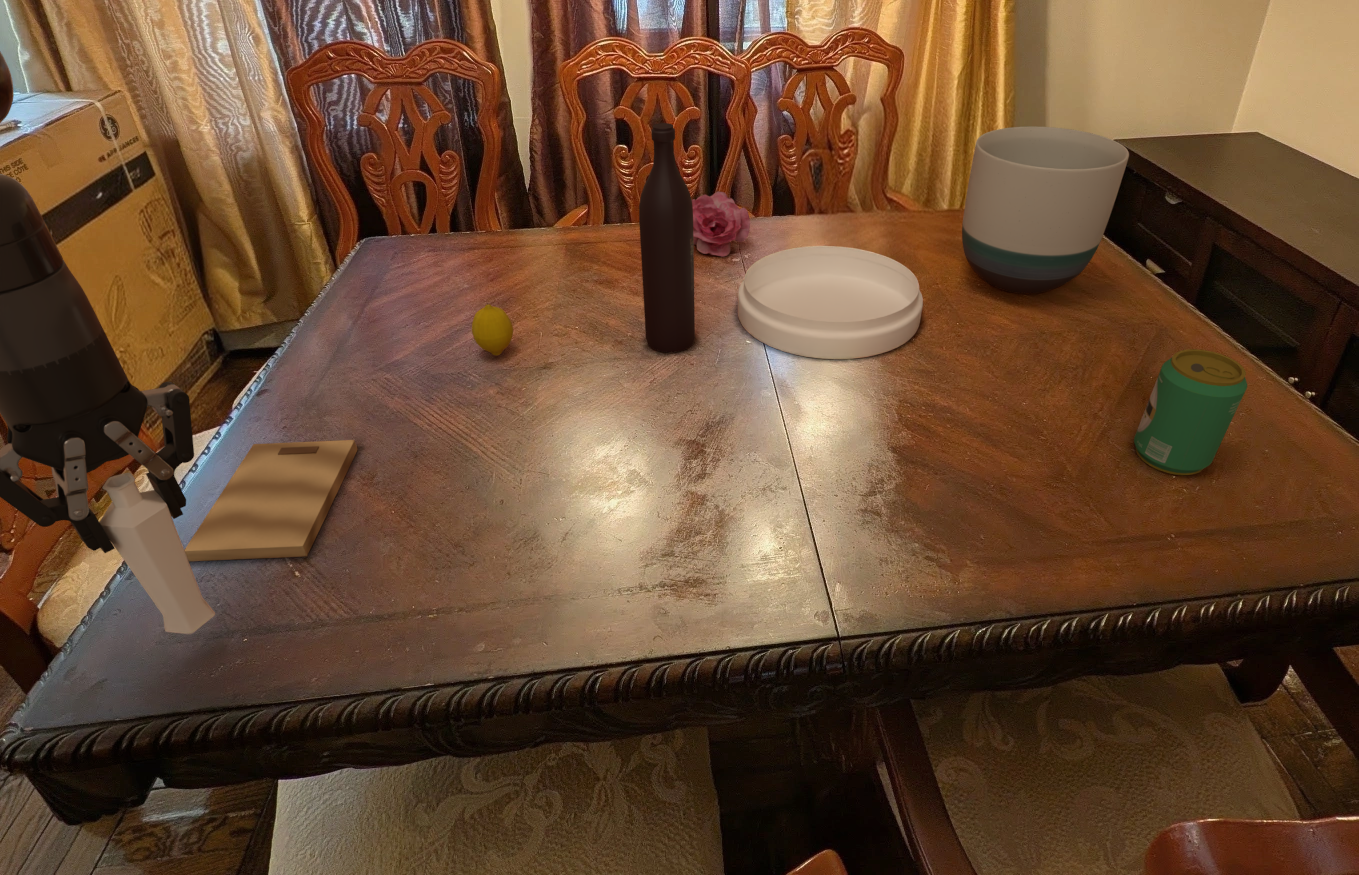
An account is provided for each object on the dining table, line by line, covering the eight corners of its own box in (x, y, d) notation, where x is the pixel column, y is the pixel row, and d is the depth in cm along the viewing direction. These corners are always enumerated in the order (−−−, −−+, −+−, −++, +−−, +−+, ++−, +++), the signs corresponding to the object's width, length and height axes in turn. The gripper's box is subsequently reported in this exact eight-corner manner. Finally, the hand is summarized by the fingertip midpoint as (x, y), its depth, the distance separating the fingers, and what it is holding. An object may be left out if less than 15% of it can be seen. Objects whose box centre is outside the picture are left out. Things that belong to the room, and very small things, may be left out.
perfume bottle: (230, 599, 71) (167, 464, 62) (200, 638, 67) (128, 500, 59) (182, 595, 71) (113, 460, 63) (150, 633, 68) (71, 495, 59)
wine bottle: (701, 349, 113) (699, 130, 95) (653, 357, 112) (641, 137, 94) (687, 326, 119) (682, 115, 101) (640, 333, 117) (628, 121, 99)
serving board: (307, 556, 82) (302, 544, 81) (188, 561, 82) (182, 549, 81) (357, 449, 96) (354, 438, 95) (257, 453, 96) (252, 442, 95)
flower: (732, 275, 140) (705, 239, 132) (694, 263, 146) (666, 227, 139) (768, 224, 141) (743, 185, 133) (729, 214, 147) (703, 176, 140)
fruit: (512, 341, 116) (504, 291, 112) (520, 359, 112) (511, 308, 108) (474, 348, 115) (464, 298, 110) (480, 367, 111) (469, 315, 106)
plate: (958, 331, 115) (966, 297, 112) (799, 378, 106) (801, 343, 103) (849, 262, 135) (852, 231, 132) (706, 297, 126) (706, 265, 123)
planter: (923, 277, 130) (946, 142, 117) (1005, 247, 138) (1035, 118, 126) (1029, 327, 116) (1069, 180, 103) (1114, 290, 125) (1160, 150, 112)
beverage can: (1138, 427, 96) (1172, 339, 89) (1214, 449, 92) (1256, 359, 85) (1124, 461, 91) (1159, 371, 84) (1203, 486, 87) (1247, 394, 80)
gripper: (-84, 404, 47) (56, 605, 57) (169, 315, 55) (252, 503, 65) (-113, 363, 51) (22, 557, 61) (127, 286, 59) (211, 467, 70)
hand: (141, 528), depth 63 cm, fingers closed on perfume bottle, 4 cm apart
